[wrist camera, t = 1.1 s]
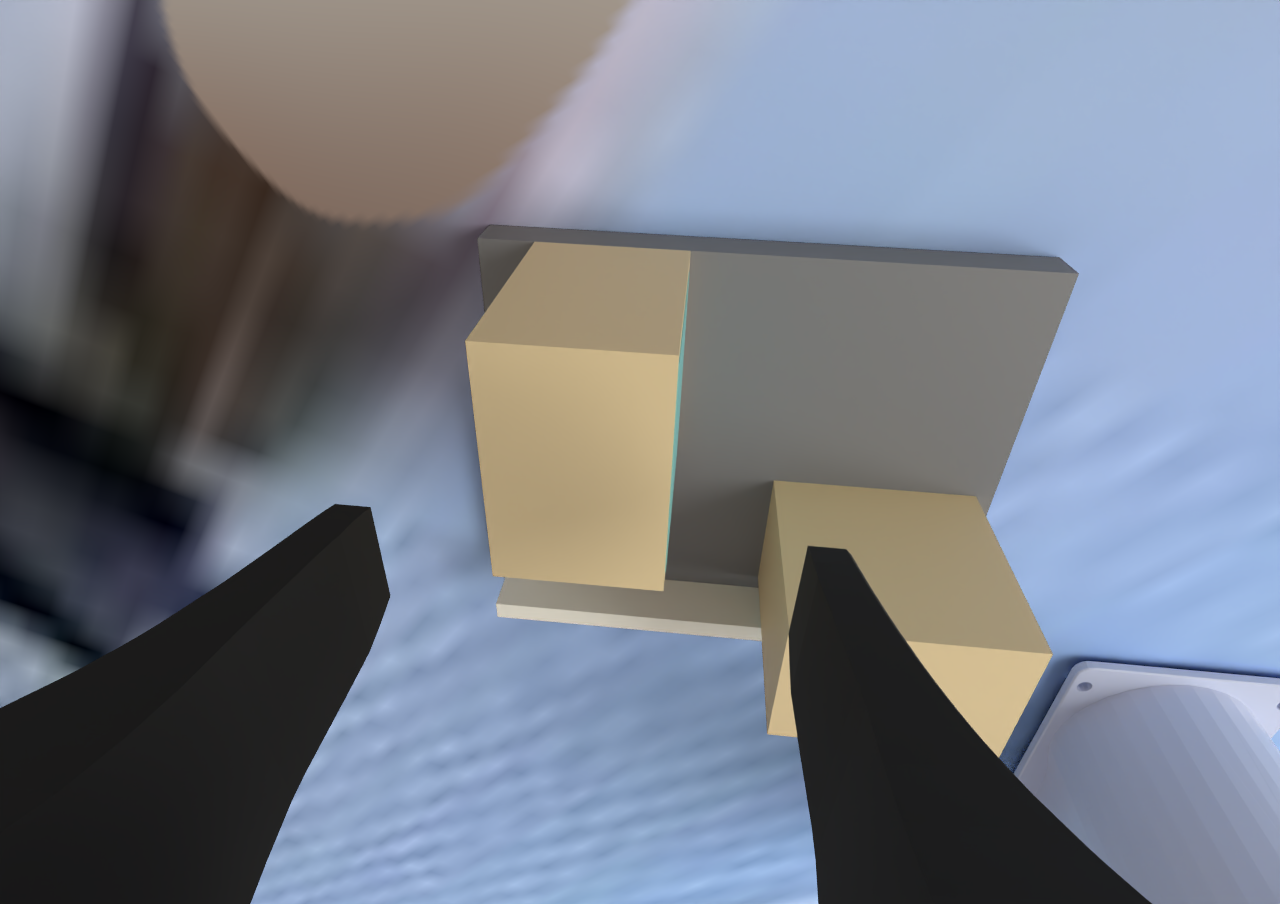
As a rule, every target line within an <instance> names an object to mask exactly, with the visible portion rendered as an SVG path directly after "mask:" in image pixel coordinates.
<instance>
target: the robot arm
mask: <svg viewBox="0 0 1280 904" xmlns="http://www.w3.org/2000/svg"><path fill="white" fill-rule="evenodd" d="M389 598H390V592H389V588H388V583H387V579H386V574H385V570H384V565H383V561H382V557H381V552H380V548H379V543H378V539H377V534H376V530H375V525H374V521H373V516H372V512H371V507H362V506H351V505H339V504H335V505H333V506H331V507H330V508H328V509H327V510H325V511H324V512H322V513H321V514H319V515H318V516H316V517H315V518H314V519H312V520H311V521H309V522H308V523H306V524H305V525H304V526H302V527H301V528H299V529H298V530H297V531H295V532H294V533H292V534H291V535H290V536H288V537H287V538H286V539H284V540H283V541H281V542H280V543H279V544H277V545H276V546H274V547H273V548H272V549H270V550H269V551H267V552H266V553H264V554H263V555H262V556H260V557H259V558H257V559H256V560H255V561H253V562H252V563H250V564H249V565H247V566H246V567H245V568H243V569H242V570H240V571H239V572H237V573H236V574H235V575H233V576H232V577H230V578H229V579H227V580H226V581H224V582H223V583H222V584H220V585H219V586H217V587H215V588H214V589H212V590H211V591H209V592H208V593H206V594H205V595H203V596H201V597H200V598H198V599H197V600H195V601H194V602H192V603H191V604H189V605H188V606H186V607H184V608H183V609H181V610H180V611H178V612H177V613H175V614H174V615H172V616H171V617H169V618H167V619H166V620H164V621H163V622H161V623H160V624H158V625H156V626H155V627H153V628H151V629H150V630H148V631H146V632H145V633H143V634H141V635H140V636H138V637H136V638H135V639H133V640H131V641H129V642H128V643H126V644H124V645H123V646H121V647H119V648H117V649H115V650H113V651H112V652H110V653H108V654H106V655H104V656H103V657H101V658H99V659H97V660H95V661H94V662H92V663H90V664H88V665H86V666H84V667H83V668H81V669H79V670H77V671H75V672H73V673H71V674H69V675H67V676H65V677H63V678H61V679H59V680H57V681H55V682H53V683H51V684H49V685H47V686H45V687H43V688H41V689H39V690H37V691H34V692H32V693H30V694H28V695H26V696H24V697H22V698H20V699H18V700H16V701H14V702H12V703H10V704H8V705H6V706H4V707H2V708H0V904H250V903H251V901H252V898H253V895H254V893H255V890H256V888H257V885H258V882H259V880H260V877H261V875H262V872H263V870H264V867H265V864H266V862H267V859H268V857H269V855H270V852H271V850H272V847H273V845H274V842H275V840H276V838H277V835H278V833H279V830H280V828H281V826H282V823H283V821H284V818H285V816H286V814H287V811H288V809H289V806H290V804H291V802H292V799H293V797H294V795H295V793H296V791H297V789H298V787H299V785H300V783H301V781H302V779H303V777H304V775H305V772H306V771H307V769H308V767H309V765H310V763H311V761H312V759H313V758H314V756H315V754H316V752H317V750H318V748H319V746H320V744H321V743H322V741H323V739H324V737H325V735H326V733H327V731H328V730H329V728H330V726H331V724H332V722H333V720H334V718H335V716H336V715H337V713H338V711H339V709H340V707H341V705H342V703H343V702H344V700H345V698H346V696H347V694H348V692H349V690H350V688H351V686H352V685H353V683H354V681H355V679H356V677H357V675H358V673H359V671H360V669H361V667H362V665H363V664H364V662H365V660H366V658H367V656H368V654H369V652H370V649H371V647H372V644H373V642H374V639H375V637H376V634H377V632H378V629H379V626H380V624H381V621H382V618H383V615H384V612H385V610H386V607H387V604H388V601H389ZM788 635H789V665H790V687H791V698H792V704H793V711H794V718H795V724H796V730H797V737H798V743H799V750H800V756H801V762H802V768H803V775H804V781H805V787H806V794H807V800H808V806H809V812H810V819H811V825H812V832H813V841H814V849H815V858H816V872H817V887H818V903H819V904H1280V751H1279V749H1278V748H1277V747H1276V745H1275V744H1274V742H1273V741H1272V740H1271V738H1272V737H1273V736H1274V735H1275V733H1276V732H1277V731H1278V730H1279V729H1280V678H1270V677H1259V676H1248V675H1237V674H1226V673H1215V672H1204V671H1193V670H1183V669H1172V668H1161V667H1150V666H1139V665H1128V664H1117V663H1106V662H1095V661H1083V662H1080V663H1078V664H1076V665H1075V666H1074V667H1073V668H1072V669H1071V671H1070V673H1069V674H1068V676H1067V678H1066V680H1065V682H1064V683H1063V685H1062V687H1061V689H1060V691H1059V693H1058V694H1057V696H1056V698H1055V700H1054V702H1053V703H1052V705H1051V707H1050V709H1049V711H1048V712H1047V714H1046V716H1045V718H1044V720H1043V721H1042V723H1041V725H1040V727H1039V729H1038V731H1037V732H1036V734H1035V736H1034V738H1033V740H1032V741H1031V743H1030V745H1029V747H1028V749H1027V750H1026V752H1025V754H1024V756H1023V758H1022V759H1021V761H1020V763H1019V765H1018V767H1017V769H1016V770H1015V772H1014V774H1013V773H1012V772H1011V771H1010V770H1009V769H1008V768H1007V766H1006V765H1005V764H1004V763H1003V762H1002V761H1001V760H1000V759H999V758H998V756H997V755H996V754H995V753H994V752H993V751H992V750H991V749H990V748H989V746H988V745H987V744H986V743H985V742H984V741H983V740H982V739H981V737H980V736H979V735H978V734H977V733H976V732H975V730H974V729H973V728H972V727H971V726H970V724H969V723H968V722H967V721H966V720H965V718H964V717H963V716H962V715H961V714H960V712H959V711H958V710H957V709H956V707H955V706H954V705H953V704H952V702H951V701H950V700H949V698H948V697H947V696H946V695H945V693H944V692H943V691H942V689H941V688H940V687H939V686H938V684H937V683H936V682H935V680H934V679H933V678H932V676H931V675H930V674H929V672H928V671H927V670H926V668H925V667H924V666H923V664H922V663H921V662H920V660H919V659H918V657H917V656H916V654H915V653H914V652H913V650H912V649H911V647H910V646H909V644H908V643H907V642H906V640H905V639H904V637H903V636H902V634H901V633H900V632H899V630H898V629H897V627H896V626H895V624H894V623H893V621H892V620H891V618H890V617H889V615H888V614H887V612H886V610H885V609H884V607H883V606H882V604H881V603H880V601H879V600H878V598H877V596H876V595H875V593H874V592H873V590H872V588H871V587H870V585H869V583H868V582H867V580H866V579H865V577H864V575H863V574H862V572H861V570H860V569H859V567H858V565H857V563H856V562H855V560H854V558H853V557H852V555H851V554H850V553H849V552H848V550H847V549H840V548H829V547H817V546H808V547H807V552H806V556H805V561H804V565H803V570H802V574H801V579H800V584H799V588H798V593H797V597H796V602H795V606H794V611H793V615H792V620H791V625H790V629H789V634H788Z"/></svg>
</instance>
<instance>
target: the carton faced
mask: <svg viewBox="0 0 1280 904" xmlns="http://www.w3.org/2000/svg"><path fill="white" fill-rule="evenodd" d="M808 546H817V547H829V548H840V549H847V550H848V552H849V553H850V554H851V555H852V557H853V558H854V560H855V562H856V563H857V565H858V567H859V569H860V570H861V572H862V574H863V575H864V577H865V579H866V580H867V582H868V583H869V585H870V587H871V588H872V590H873V592H874V593H875V595H876V596H877V598H878V600H879V601H880V603H881V604H882V606H883V607H884V609H885V610H886V612H887V614H888V615H889V617H890V618H891V620H892V621H893V623H894V624H895V626H896V627H897V629H898V630H899V632H900V633H901V634H902V636H903V637H904V639H905V640H906V642H907V643H908V644H909V646H910V647H911V649H912V650H913V652H914V653H915V654H916V656H917V657H918V659H919V660H920V662H921V663H922V664H923V666H924V667H925V668H926V670H927V671H928V672H929V674H930V675H931V676H932V678H933V679H934V680H935V682H936V683H937V684H938V686H939V687H940V688H941V689H942V691H943V692H944V693H945V695H946V696H947V697H948V698H949V700H950V701H951V702H952V704H953V705H954V706H955V707H956V709H957V710H958V711H959V712H960V714H961V715H962V716H963V717H964V718H965V720H966V721H967V722H968V723H969V724H970V726H971V727H972V728H973V729H974V730H975V732H976V733H977V734H978V735H979V736H980V737H981V739H982V740H983V741H984V742H985V743H986V744H987V745H988V746H989V748H990V749H991V750H992V751H993V752H994V753H995V754H996V755H997V756H998V757H1000V755H1001V753H1002V751H1003V749H1004V747H1005V745H1006V743H1007V741H1008V739H1009V738H1010V736H1011V734H1012V732H1013V730H1014V728H1015V726H1016V724H1017V722H1018V720H1019V718H1020V716H1021V715H1022V713H1023V711H1024V709H1025V707H1026V705H1027V703H1028V701H1029V699H1030V697H1031V695H1032V693H1033V692H1034V690H1035V688H1036V686H1037V684H1038V682H1039V680H1040V678H1041V676H1042V674H1043V672H1044V670H1045V668H1046V667H1047V665H1048V663H1049V661H1050V659H1051V657H1052V655H1053V654H1052V652H1051V649H1050V647H1049V645H1048V643H1047V641H1046V639H1045V637H1044V635H1043V633H1042V631H1041V629H1040V627H1039V625H1038V623H1037V621H1036V619H1035V617H1034V615H1033V613H1032V610H1031V608H1030V606H1029V604H1028V602H1027V600H1026V598H1025V596H1024V594H1023V592H1022V590H1021V588H1020V586H1019V584H1018V582H1017V580H1016V578H1015V576H1014V573H1013V571H1012V569H1011V567H1010V565H1009V563H1008V561H1007V559H1006V557H1005V555H1004V553H1003V551H1002V549H1001V547H1000V545H999V543H998V541H997V539H996V536H995V534H994V532H993V530H992V528H991V526H990V524H989V522H988V520H987V518H986V516H985V514H984V512H983V510H982V508H981V506H980V504H979V502H978V500H977V497H976V496H966V495H953V494H940V493H928V492H915V491H902V490H889V489H876V488H864V487H851V486H838V485H825V484H813V483H800V482H787V481H774V482H773V488H772V494H771V500H770V506H769V513H768V519H767V525H766V531H765V537H764V543H763V549H762V555H761V561H760V567H759V573H758V586H759V603H760V620H761V636H762V653H763V670H764V687H765V703H766V720H767V734H770V735H780V736H790V737H797V730H796V724H795V718H794V711H793V704H792V698H791V687H790V665H789V635H788V634H789V629H790V625H791V620H792V615H793V611H794V606H795V602H796V597H797V593H798V588H799V584H800V579H801V574H802V570H803V565H804V561H805V556H806V552H807V547H808Z"/></svg>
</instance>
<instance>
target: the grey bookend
mask: <svg viewBox="0 0 1280 904" xmlns="http://www.w3.org/2000/svg"><path fill="white" fill-rule="evenodd" d="M477 240H478V250H479V260H480V271H481V281H482V291H483V301H484V311H485V312H486V310H487V309H488V308H489V306H490V305H491V303H492V302H493V300H494V299H495V298H496V296H497V295H498V293H499V292H500V290H501V289H502V288H503V286H504V285H505V283H506V282H507V280H508V279H509V278H510V276H511V275H512V273H513V272H514V270H515V269H516V268H517V266H518V265H519V263H520V262H521V260H522V259H523V258H524V256H525V255H526V253H527V252H528V250H529V249H530V248H531V246H532V245H533V243H534V242H549V243H566V244H583V245H600V246H617V247H634V248H651V249H668V250H685V251H691V252H690V267H689V272H690V273H689V287H688V301H687V316H686V330H685V345H684V359H683V374H682V388H681V403H680V417H679V432H678V446H677V458H676V469H675V480H674V491H673V501H672V512H671V523H670V533H669V544H668V555H667V565H666V573H665V580H664V591H655V590H643V589H632V588H621V587H610V586H598V585H587V584H576V583H565V582H553V581H542V580H531V579H520V578H508V577H505V580H504V583H503V586H502V589H501V591H500V594H499V597H498V600H497V603H496V607H497V616H498V617H507V618H517V619H528V620H539V621H550V622H561V623H572V624H582V625H593V626H604V627H615V628H626V629H636V630H647V631H658V632H669V633H680V634H690V635H701V636H712V637H723V638H734V639H744V640H755V641H762V636H761V620H760V603H759V586H758V573H759V567H760V561H761V555H762V549H763V543H764V537H765V531H766V525H767V519H768V513H769V506H770V500H771V494H772V488H773V482H774V481H787V482H800V483H813V484H825V485H838V486H851V487H864V488H876V489H889V490H902V491H915V492H928V493H940V494H953V495H966V496H976V497H977V500H978V502H979V504H980V506H981V508H982V510H983V512H984V514H985V516H986V515H987V512H988V510H989V507H990V504H991V502H992V499H993V497H994V494H995V491H996V489H997V486H998V484H999V481H1000V478H1001V476H1002V473H1003V470H1004V468H1005V465H1006V463H1007V460H1008V457H1009V455H1010V452H1011V450H1012V447H1013V444H1014V442H1015V439H1016V436H1017V434H1018V431H1019V429H1020V426H1021V423H1022V421H1023V418H1024V416H1025V413H1026V410H1027V408H1028V405H1029V403H1030V400H1031V397H1032V395H1033V392H1034V389H1035V387H1036V384H1037V382H1038V379H1039V376H1040V374H1041V371H1042V369H1043V366H1044V363H1045V361H1046V358H1047V355H1048V353H1049V350H1050V348H1051V345H1052V342H1053V340H1054V337H1055V335H1056V332H1057V329H1058V327H1059V324H1060V322H1061V319H1062V316H1063V314H1064V311H1065V308H1066V306H1067V303H1068V301H1069V298H1070V295H1071V293H1072V290H1073V288H1074V285H1075V282H1076V280H1077V277H1078V274H1079V273H1077V272H1076V271H1075V270H1074V269H1073V268H1072V267H1070V266H1069V265H1068V264H1067V263H1066V262H1064V261H1063V260H1062V259H1061V258H1059V257H1041V256H1024V255H1007V254H989V253H972V252H955V251H937V250H920V249H902V248H885V247H868V246H850V245H833V244H815V243H798V242H781V241H763V240H746V239H728V238H711V237H694V236H676V235H659V234H642V233H624V232H607V231H589V230H572V229H555V228H537V227H520V226H502V225H489V226H488V227H487V228H486V229H485V231H484V232H483V233H482V234H481V235H480V236H479V237H478V238H477Z"/></svg>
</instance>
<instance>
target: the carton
mask: <svg viewBox="0 0 1280 904" xmlns="http://www.w3.org/2000/svg"><path fill="white" fill-rule="evenodd" d="M690 252H691V251H685V250H668V249H651V248H634V247H617V246H600V245H583V244H566V243H549V242H534V243H533V245H532V246H531V248H530V249H529V250H528V252H527V253H526V255H525V256H524V258H523V259H522V260H521V262H520V263H519V265H518V266H517V268H516V269H515V270H514V272H513V273H512V275H511V276H510V278H509V279H508V280H507V282H506V283H505V285H504V286H503V288H502V289H501V290H500V292H499V293H498V295H497V296H496V298H495V299H494V300H493V302H492V303H491V305H490V306H489V308H488V309H487V310H486V312H485V313H484V315H483V316H482V318H481V319H480V320H479V322H478V323H477V325H476V326H475V328H474V329H473V330H472V332H471V333H470V335H469V336H468V338H467V339H466V340H465V344H466V352H467V361H468V369H469V378H470V386H471V395H472V403H473V412H474V420H475V429H476V437H477V446H478V454H479V463H480V471H481V480H482V488H483V497H484V505H485V514H486V522H487V531H488V539H489V548H490V556H491V565H492V573H493V576H497V577H508V578H520V579H531V580H542V581H553V582H565V583H576V584H587V585H598V586H610V587H621V588H632V589H643V590H655V591H664V580H665V573H666V565H667V555H668V544H669V533H670V523H671V512H672V501H673V491H674V480H675V469H676V458H677V446H678V432H679V417H680V403H681V388H682V374H683V359H684V345H685V330H686V316H687V301H688V287H689V273H690V272H689V267H690Z"/></svg>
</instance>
